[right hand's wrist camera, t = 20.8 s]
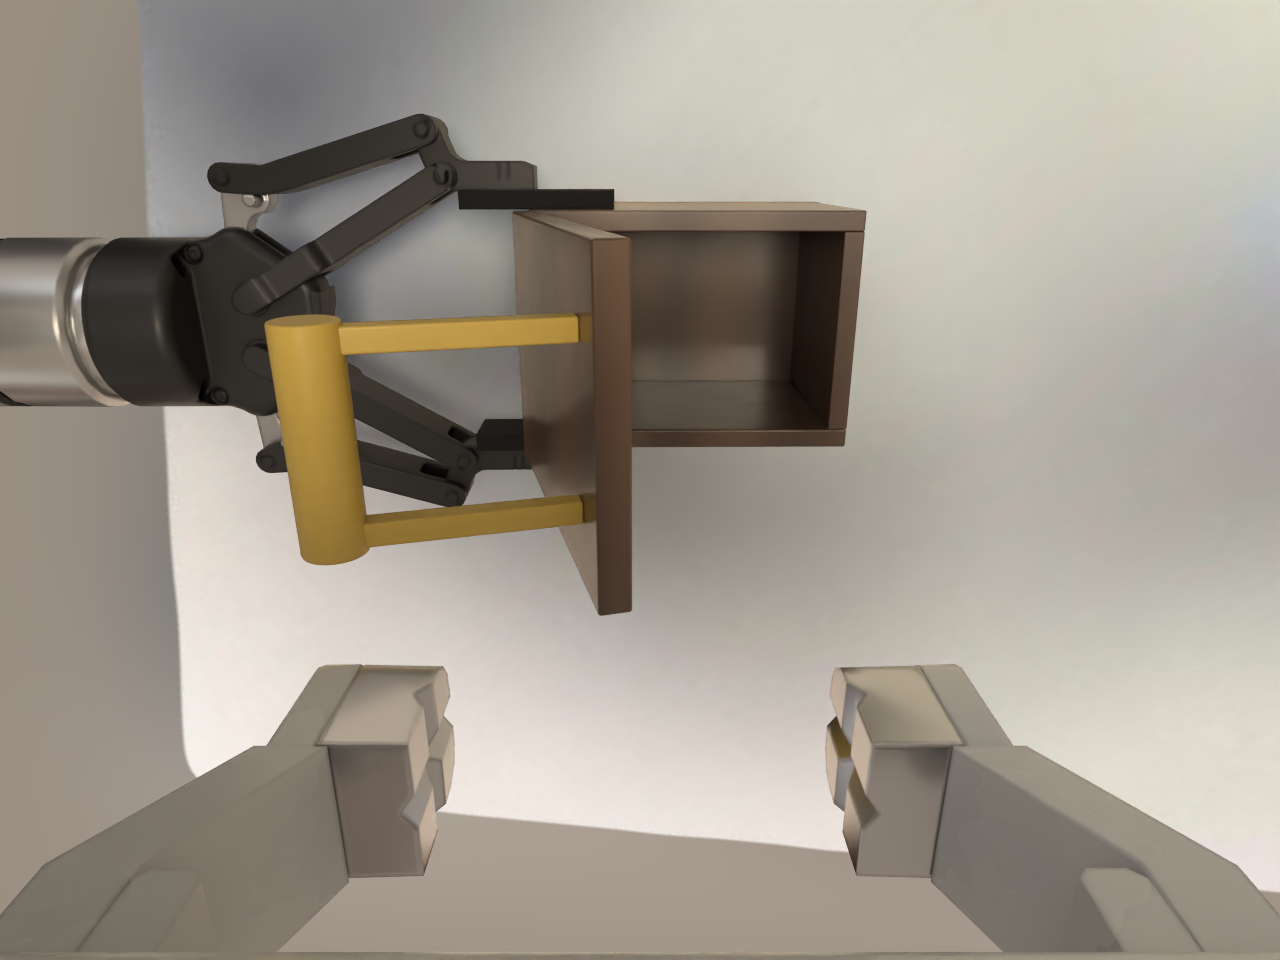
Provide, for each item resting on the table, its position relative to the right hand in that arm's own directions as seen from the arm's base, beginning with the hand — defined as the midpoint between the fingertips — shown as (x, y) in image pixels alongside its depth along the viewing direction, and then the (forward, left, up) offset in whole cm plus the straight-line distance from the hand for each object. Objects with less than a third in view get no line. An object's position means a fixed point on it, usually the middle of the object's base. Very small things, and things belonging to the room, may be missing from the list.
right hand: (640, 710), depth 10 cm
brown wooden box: (-1, -2, -36) cm, 36 cm away
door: (+1, +2, -18) cm, 19 cm away
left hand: (0, +1, -29) cm, 29 cm away
